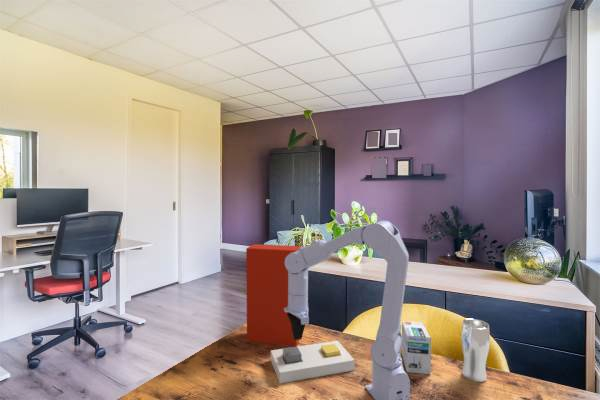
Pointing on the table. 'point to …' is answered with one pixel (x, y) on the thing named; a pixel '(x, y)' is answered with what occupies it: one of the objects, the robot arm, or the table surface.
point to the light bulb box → (416, 347)
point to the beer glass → (475, 349)
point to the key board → (311, 363)
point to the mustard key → (330, 350)
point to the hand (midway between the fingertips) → (297, 338)
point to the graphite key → (291, 355)
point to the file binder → (268, 294)
